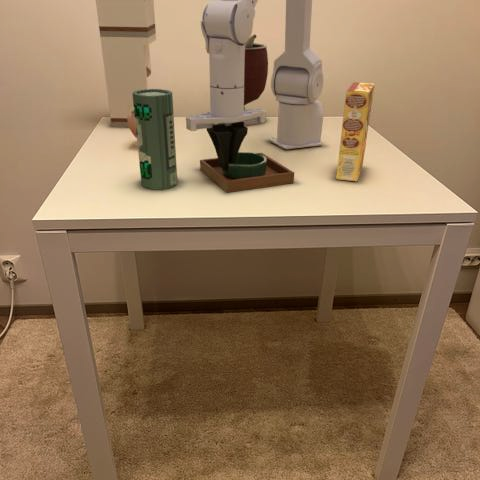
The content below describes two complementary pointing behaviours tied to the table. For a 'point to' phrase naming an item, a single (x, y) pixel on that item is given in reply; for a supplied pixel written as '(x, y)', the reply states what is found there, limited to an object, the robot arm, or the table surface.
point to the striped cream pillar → (125, 51)
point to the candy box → (354, 130)
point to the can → (155, 138)
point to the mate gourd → (254, 71)
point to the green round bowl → (247, 166)
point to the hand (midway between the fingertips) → (226, 167)
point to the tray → (272, 177)
